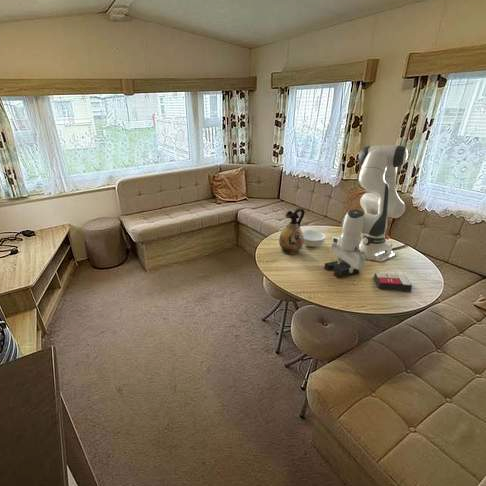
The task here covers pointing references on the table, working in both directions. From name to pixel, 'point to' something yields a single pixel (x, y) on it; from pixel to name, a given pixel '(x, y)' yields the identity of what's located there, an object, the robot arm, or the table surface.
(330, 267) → the pad
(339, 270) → the pad
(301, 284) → the table surface
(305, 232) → the cereal bowl
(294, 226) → the ceramic jug
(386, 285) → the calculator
